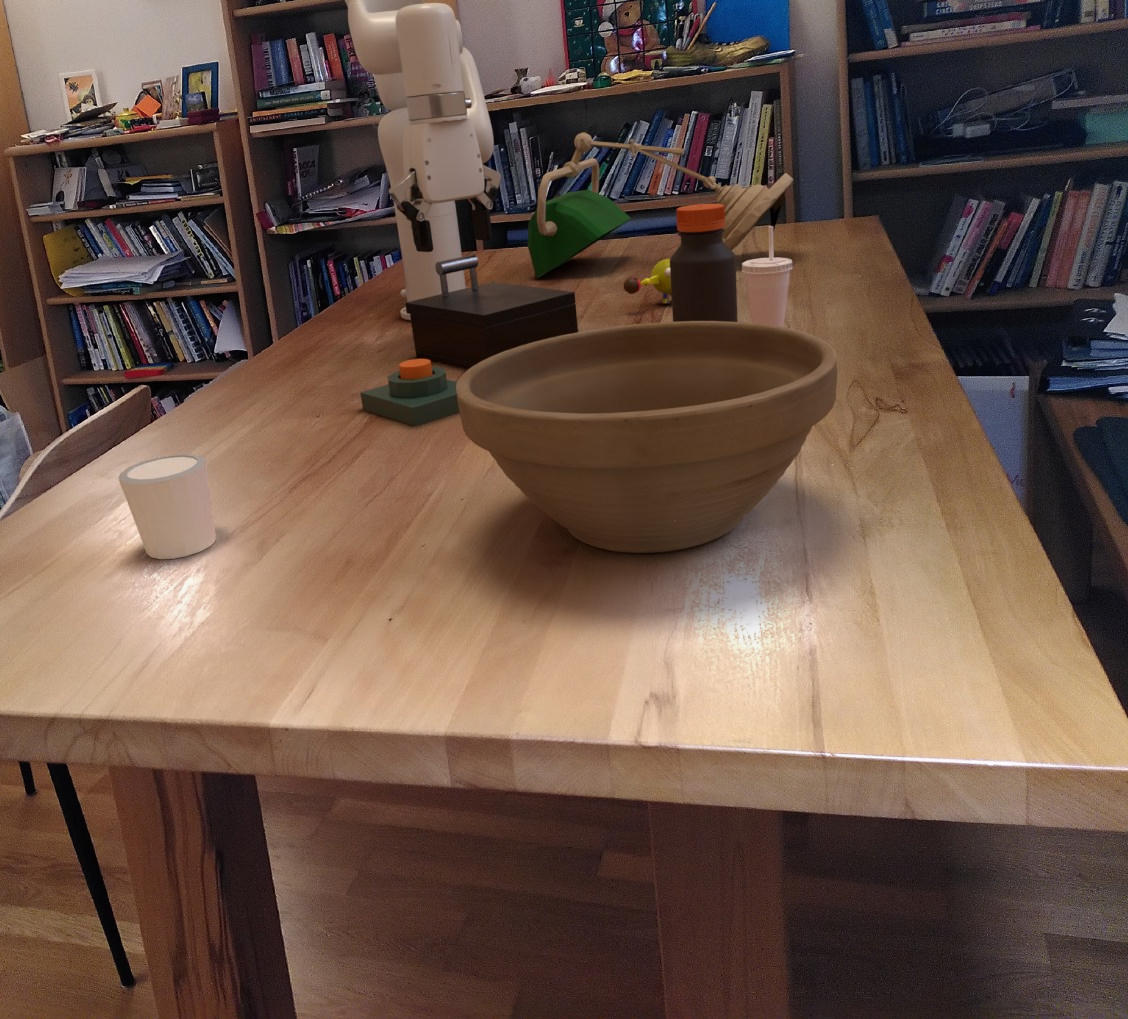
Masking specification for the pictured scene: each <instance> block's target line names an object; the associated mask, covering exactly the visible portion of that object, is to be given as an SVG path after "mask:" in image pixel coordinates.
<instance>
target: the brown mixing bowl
mask: <svg viewBox="0 0 1128 1019" xmlns="http://www.w3.org/2000/svg"><path fill="white" fill-rule="evenodd" d="M456 382H457V384H456V391H457V401H458V406H459V411H460V412H459V416H460V420H461V426H462V430H463V432H464V434H465V436H466V437H467V438H468V439H469V440H470V442H472V443H473V444H475V445H476V446H477V447H479V448H481V449H483V450H485V451H487V452H489V453H490V455H491V457H492V459H494V460H495V462H496V464H497V466H498V467H499V468H500V469H501V470H502V472H503V473H504V475H505V476H506V477H507V479H509V480H510V481H511V482H512V483H513V484H514V485H515V486H516V487H517V488H518V489H519V490H520V492H521V493H523V495H524V496H525V497H527V498H528V499H529V500H530V501H531V502H532V503H533V504H534V505H536V506H537V508H539V509H540V510H541V511H542V512H543V513H545V514H546V515H547V516H548V517H550V518H551V519H552V520H554V521H555V522H556V523H558V524H559V525H560V526H562V527H563V528H565V529H566V530H567V531H568V533H570V535H572V536H573V537H574V538H575V539H577V540H578V541H580V542H581V543H584V544H585V545H588V546H591V547H593V548H597V549H601V550H606V551H611V552H618V553H627V554H628V553H629V554H653V553H666V552H673V551H678V550H684V549H689V548H694V547H697V546H700V545H703V544H707V543H711V542H712V541H714V540H717V539H720V538H721V537H723V536H725V535H726V534H728V533H730V532H731V531H733V530H734V529H735V528H736V527H737V526H739V524H740V523H741V522H742V521H743V519H744V517H745V516H746V515H747V514H748V513H749V512H751V510H752V509H753V508H754V507H755V506H757V505H758V504H759V503H760V502H761V501H762V499H763V498H764V497H765V496H767V494H769V492H770V491H771V490H772V488H774V486H775V485H776V484H777V483H778V482H779V480H780V479H781V478H782V477H783V475H785V473H786V471H787V469H788V468H789V467H791V464H792V463H793V462H794V460H795V459H796V457H798V455H799V454H800V453H801V450H802V447H803V446H804V445H805V443H806V441H807V437H808V435H809V434H810V433H811V431H812V429H813V426H815V425H817V424H819V422H821V421H822V420H824V418H826V417H827V416H828V414H829V413H830V412H831V411H832V409H833V408H834V406H835V402H836V399H837V385H838V384H837V383H838V355H837V352H836V350H835V349H834V348H833V346H832V345H830V344H829V343H828V342H827V341H825V340H824V339H821V338H820V337H818V336H816V335H812V334H810V333H807V332H804V331H801V330H797V329H792V328H788V327H785V326H784V327H779V326H774V325H767V324H757V323H752V322H743V321H738V322H725V321H682V322H673V321H660V322H659V321H658V322H646V323H635V324H626V325H618V326H609V327H603V328H597V329H588V330H583V331H578V332H577V333H572V334H567V335H562V336H557V337H553V338H548V339H544V340H540V341H536V342H532V343H529V344H525V345H522V346H519V347H516V348H513V349H510V350H507V351H504V352H501V353H499V354H496V355H494V356H492V357H489V358H487V359H485V360H483V361H481V362H479V363H478V364H476V365H474V366H473V367H471V368H470V369H466V371H465V372H464V373H463V374H462V375H461V376H460V377H459V378H458V380H457V381H456Z"/></svg>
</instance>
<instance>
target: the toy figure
mask: <svg viewBox="0 0 1128 1019" xmlns="http://www.w3.org/2000/svg"><path fill="white" fill-rule="evenodd" d="M642 285H643V286H645V287H648V286H650V285H653V287H654V288H655V289H656V291H658V292H660V293H661V294H662V305H663V306H664V305H665V306H668V305H672V293H671V275H670V258H665V259H662V260H660V261H658V262H657V263H656V264H655V265H654V266H653V268H652V270H651V276H650V277H649V278H648V277H646V278H644V279H643V280H641V281H640V279H639V278H637V277H628V278H626V279H625V280H624V282H623V290H624V291H625V292H626V293H627V294H630V295H634V294H636V293H638V292H639V291H640V290H641V287H642ZM668 295H670V301H668Z"/></svg>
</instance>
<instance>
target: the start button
mask: <svg viewBox="0 0 1128 1019" xmlns="http://www.w3.org/2000/svg"><path fill="white" fill-rule="evenodd" d="M432 367H433V366H432V361H430V360H428V359H420V358H413V359H408V360H404V361H402V362H400V363H399V364H398V368H399V371H400V376H401V379H403V380H413V379H420V378H425V377H429V376H432V375H433V374H432Z"/></svg>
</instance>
